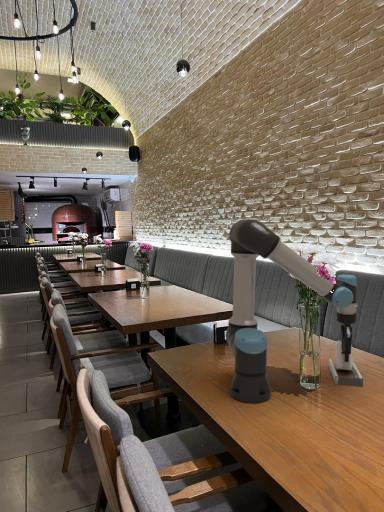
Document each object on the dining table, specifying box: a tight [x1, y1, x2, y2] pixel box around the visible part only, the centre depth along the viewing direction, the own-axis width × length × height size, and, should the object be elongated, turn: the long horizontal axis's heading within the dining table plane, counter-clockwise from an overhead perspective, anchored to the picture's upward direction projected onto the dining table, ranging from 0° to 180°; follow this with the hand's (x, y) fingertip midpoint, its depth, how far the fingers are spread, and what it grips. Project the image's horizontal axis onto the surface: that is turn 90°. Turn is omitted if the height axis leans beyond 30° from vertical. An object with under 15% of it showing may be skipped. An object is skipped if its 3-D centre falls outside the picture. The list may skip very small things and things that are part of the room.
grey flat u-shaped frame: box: [328, 358, 364, 387], centre depth 158 cm, size 20×10×3 cm, turn 167°
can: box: [335, 339, 353, 371], centre depth 163 cm, size 6×6×12 cm
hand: (345, 368), depth 158 cm, fingers closed
